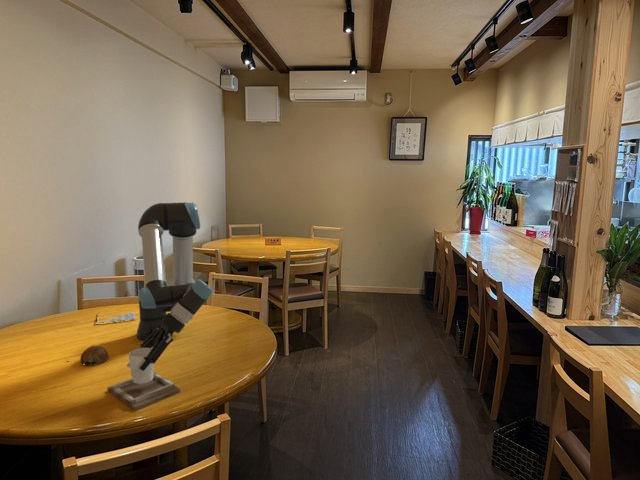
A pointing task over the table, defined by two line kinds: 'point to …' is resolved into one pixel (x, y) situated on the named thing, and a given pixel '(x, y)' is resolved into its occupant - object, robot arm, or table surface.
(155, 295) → the robot arm
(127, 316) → the snack bag
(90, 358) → the bread roll
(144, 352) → the white cup
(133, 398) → the keeper board
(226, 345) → the table surface
